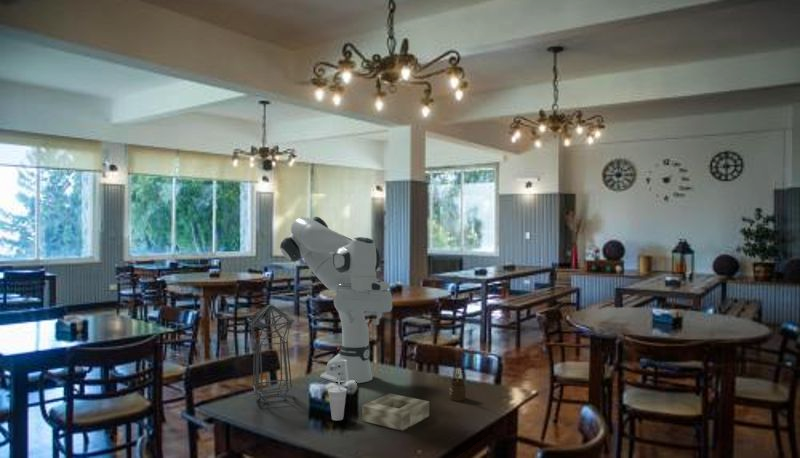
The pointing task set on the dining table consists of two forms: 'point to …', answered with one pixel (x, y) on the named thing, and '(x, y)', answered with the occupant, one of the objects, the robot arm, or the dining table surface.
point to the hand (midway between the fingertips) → (363, 323)
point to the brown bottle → (457, 388)
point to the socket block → (395, 411)
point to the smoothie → (337, 401)
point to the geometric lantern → (270, 344)
